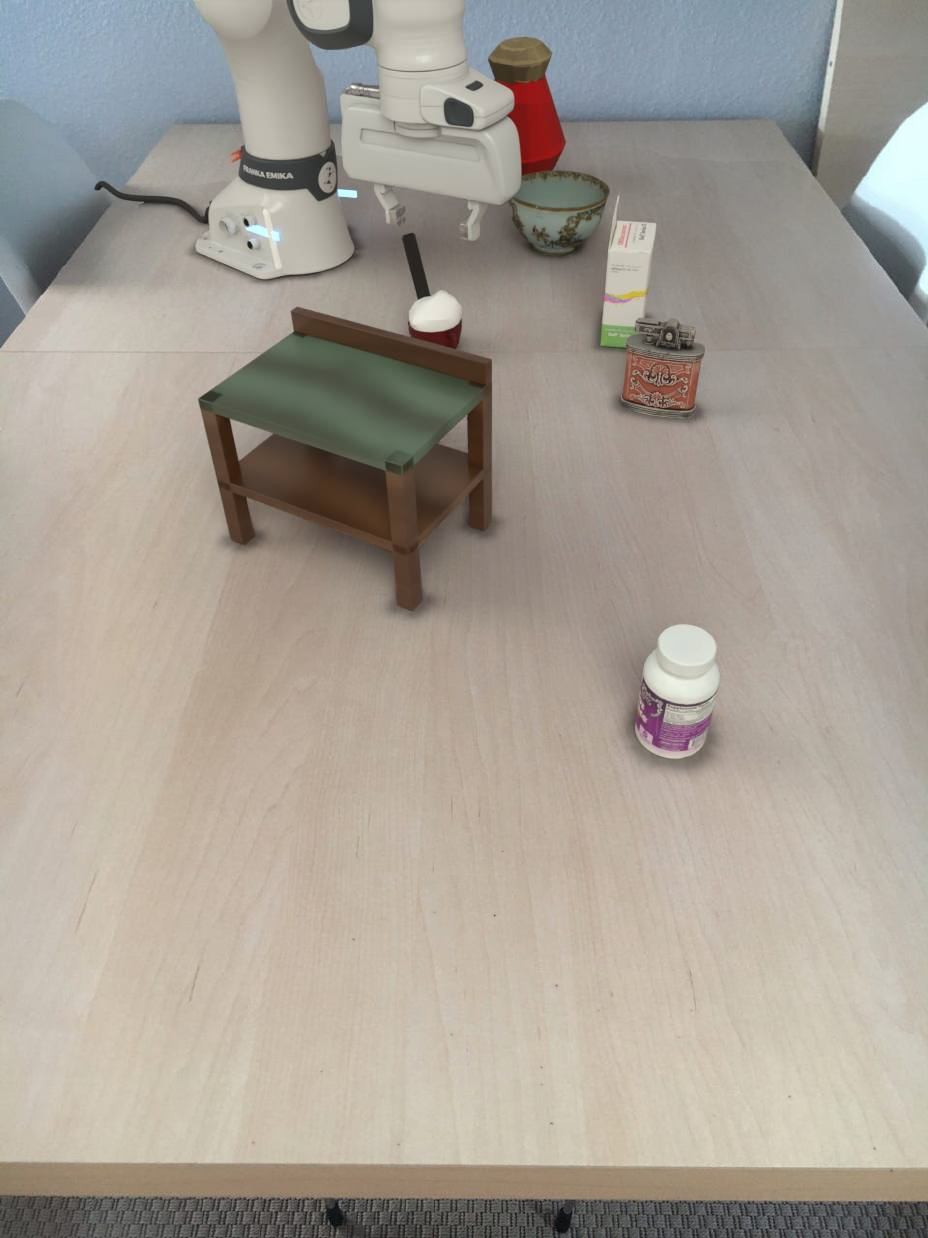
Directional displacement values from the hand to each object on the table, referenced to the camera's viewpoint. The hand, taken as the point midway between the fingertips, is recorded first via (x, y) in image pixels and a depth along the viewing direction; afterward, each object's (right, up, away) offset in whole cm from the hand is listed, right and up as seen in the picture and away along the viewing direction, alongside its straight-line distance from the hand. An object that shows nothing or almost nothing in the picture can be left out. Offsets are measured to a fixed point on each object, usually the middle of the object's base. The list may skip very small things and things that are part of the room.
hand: (432, 230), depth 107 cm
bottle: (+12, +25, +46) cm, 53 cm away
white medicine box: (+23, -8, +12) cm, 27 cm away
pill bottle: (+19, -51, -33) cm, 64 cm away
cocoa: (0, -10, +10) cm, 14 cm away
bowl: (+16, +9, +30) cm, 35 cm away
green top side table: (-6, -34, -15) cm, 38 cm away
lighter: (+24, -19, 0) cm, 31 cm away
